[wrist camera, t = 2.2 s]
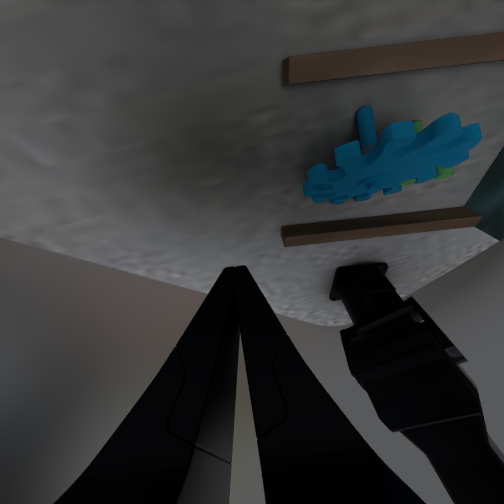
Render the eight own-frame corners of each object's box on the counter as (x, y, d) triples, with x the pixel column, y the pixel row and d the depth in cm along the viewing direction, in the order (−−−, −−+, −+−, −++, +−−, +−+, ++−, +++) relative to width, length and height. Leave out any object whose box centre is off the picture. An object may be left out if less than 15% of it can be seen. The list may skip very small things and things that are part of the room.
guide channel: (475, 215, 21) (522, 238, 18) (281, 236, 22) (289, 263, 18) (615, 21, 12) (761, -6, 9) (282, 60, 13) (300, 47, 9)
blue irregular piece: (285, 211, 18) (371, 137, 8) (278, 151, 18) (351, 12, 9) (387, 208, 20) (551, 146, 10) (378, 153, 21) (526, 45, 11)
